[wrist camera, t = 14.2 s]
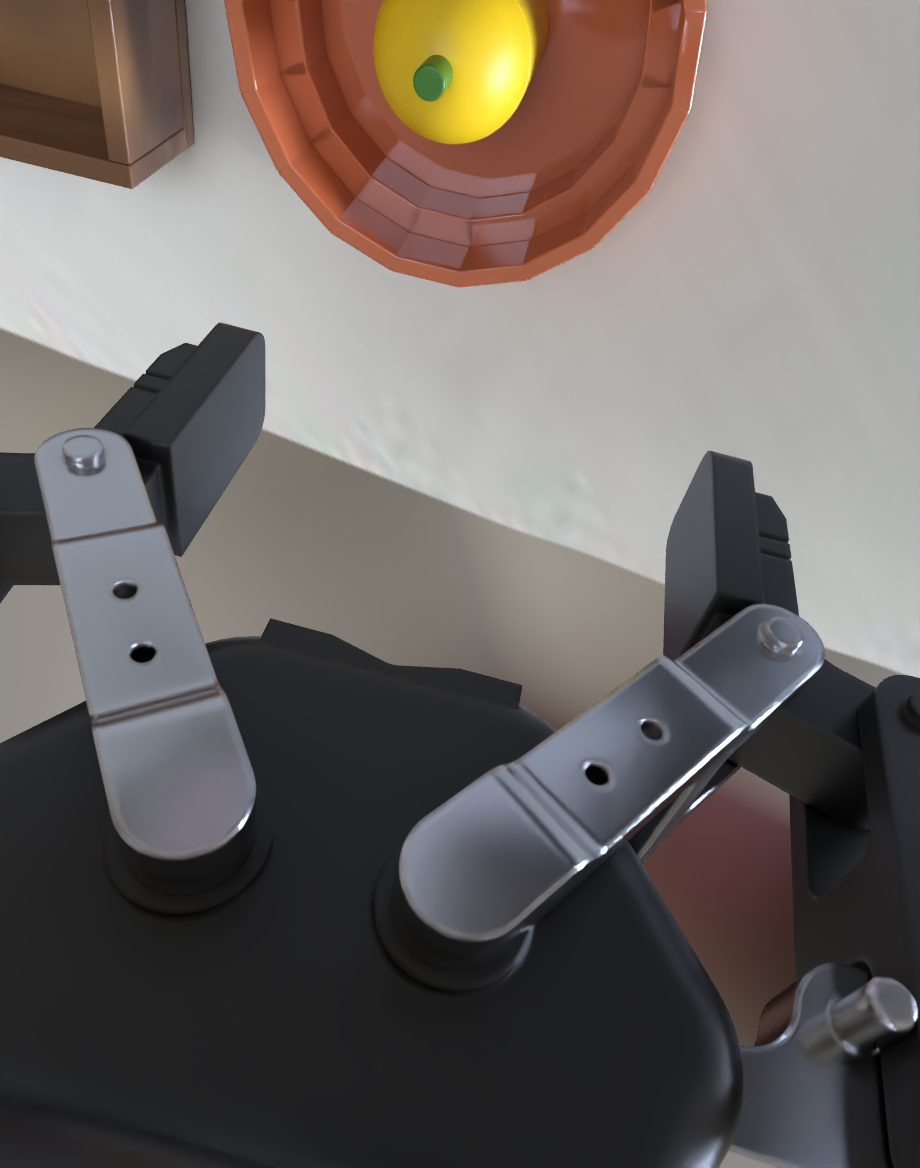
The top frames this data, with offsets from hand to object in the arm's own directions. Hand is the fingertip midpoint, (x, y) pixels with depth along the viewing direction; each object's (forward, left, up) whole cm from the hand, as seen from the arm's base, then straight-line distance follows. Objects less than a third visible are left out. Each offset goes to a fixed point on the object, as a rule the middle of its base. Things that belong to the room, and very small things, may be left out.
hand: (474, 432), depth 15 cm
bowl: (-2, -4, -21) cm, 21 cm away
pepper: (-2, -4, -20) cm, 21 cm away
